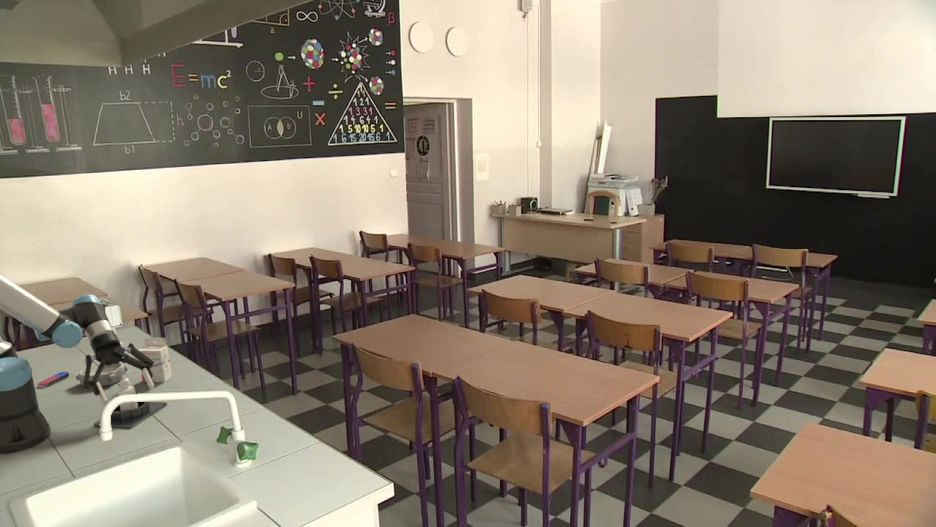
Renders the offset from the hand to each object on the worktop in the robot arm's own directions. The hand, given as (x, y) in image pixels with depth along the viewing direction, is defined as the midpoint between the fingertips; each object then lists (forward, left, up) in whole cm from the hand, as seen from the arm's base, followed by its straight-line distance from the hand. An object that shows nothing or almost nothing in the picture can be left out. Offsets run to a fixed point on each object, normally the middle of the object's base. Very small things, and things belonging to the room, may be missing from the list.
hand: (129, 395), depth 198 cm
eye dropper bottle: (+1, +2, -7) cm, 7 cm away
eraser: (+23, +51, -8) cm, 56 cm away
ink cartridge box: (+28, +13, -7) cm, 32 cm away
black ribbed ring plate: (+1, +2, -7) cm, 8 cm away
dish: (+25, +32, -8) cm, 41 cm away
